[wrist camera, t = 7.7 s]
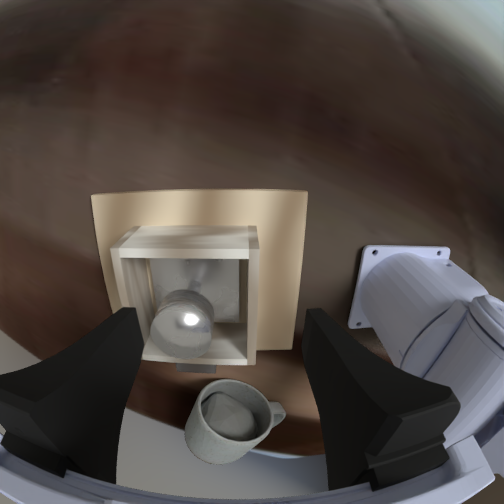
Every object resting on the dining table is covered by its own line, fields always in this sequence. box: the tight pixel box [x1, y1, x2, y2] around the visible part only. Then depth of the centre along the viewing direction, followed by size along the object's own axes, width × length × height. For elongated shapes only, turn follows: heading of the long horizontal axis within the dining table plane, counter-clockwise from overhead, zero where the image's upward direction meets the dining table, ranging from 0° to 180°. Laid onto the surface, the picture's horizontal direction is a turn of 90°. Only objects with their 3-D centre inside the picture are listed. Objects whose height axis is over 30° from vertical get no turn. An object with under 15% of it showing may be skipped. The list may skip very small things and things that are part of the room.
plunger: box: [149, 258, 239, 359], centre depth 18 cm, size 7×7×6 cm
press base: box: [91, 189, 308, 373], centre depth 20 cm, size 16×14×5 cm
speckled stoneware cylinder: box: [185, 379, 286, 465], centre depth 25 cm, size 11×8×8 cm
